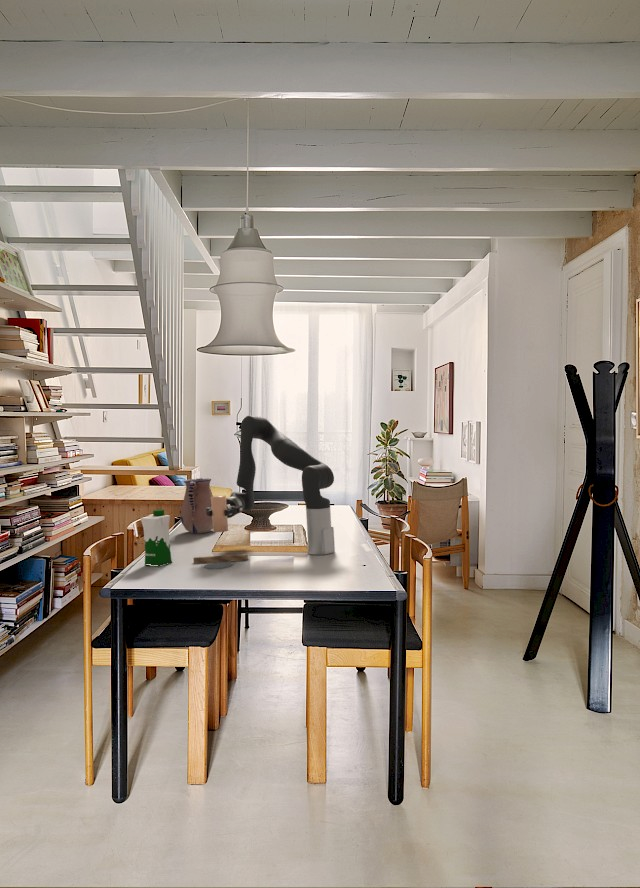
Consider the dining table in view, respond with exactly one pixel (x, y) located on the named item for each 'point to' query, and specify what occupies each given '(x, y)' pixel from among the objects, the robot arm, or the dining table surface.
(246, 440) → the robot arm
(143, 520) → the milk carton
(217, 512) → the peach cylinder
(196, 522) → the ceramic pitcher
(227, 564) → the coaster
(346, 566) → the dining table surface
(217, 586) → the dining table surface
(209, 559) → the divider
